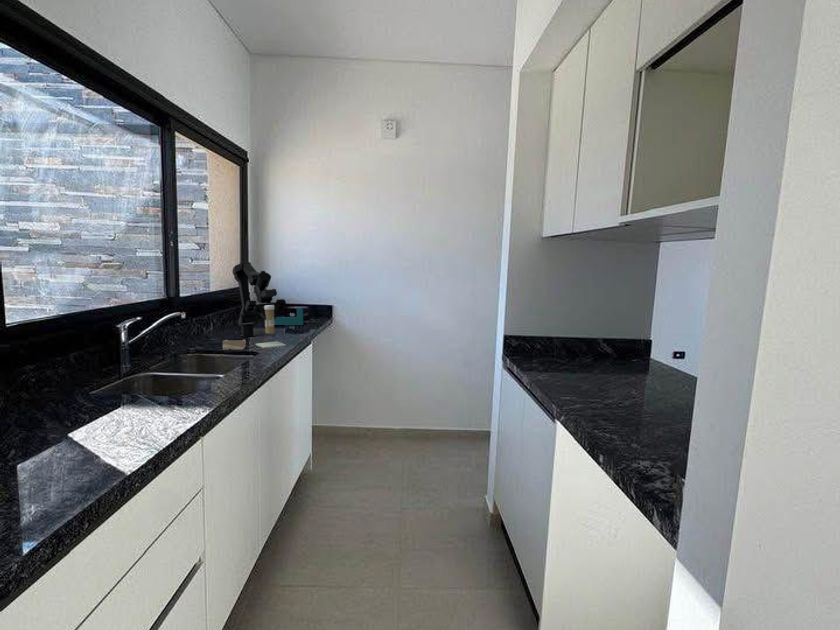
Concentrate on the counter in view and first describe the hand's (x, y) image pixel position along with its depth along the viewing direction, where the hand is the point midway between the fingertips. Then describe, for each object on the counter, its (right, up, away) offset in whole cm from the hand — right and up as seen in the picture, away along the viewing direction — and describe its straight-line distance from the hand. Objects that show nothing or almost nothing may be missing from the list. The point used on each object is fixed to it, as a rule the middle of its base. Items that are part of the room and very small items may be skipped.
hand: (270, 318), depth 222 cm
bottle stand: (-15, -14, -6) cm, 21 cm away
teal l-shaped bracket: (-13, -5, +75) cm, 76 cm away
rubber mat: (-1, -13, +3) cm, 13 cm away
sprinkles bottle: (-1, -7, +2) cm, 7 cm away
